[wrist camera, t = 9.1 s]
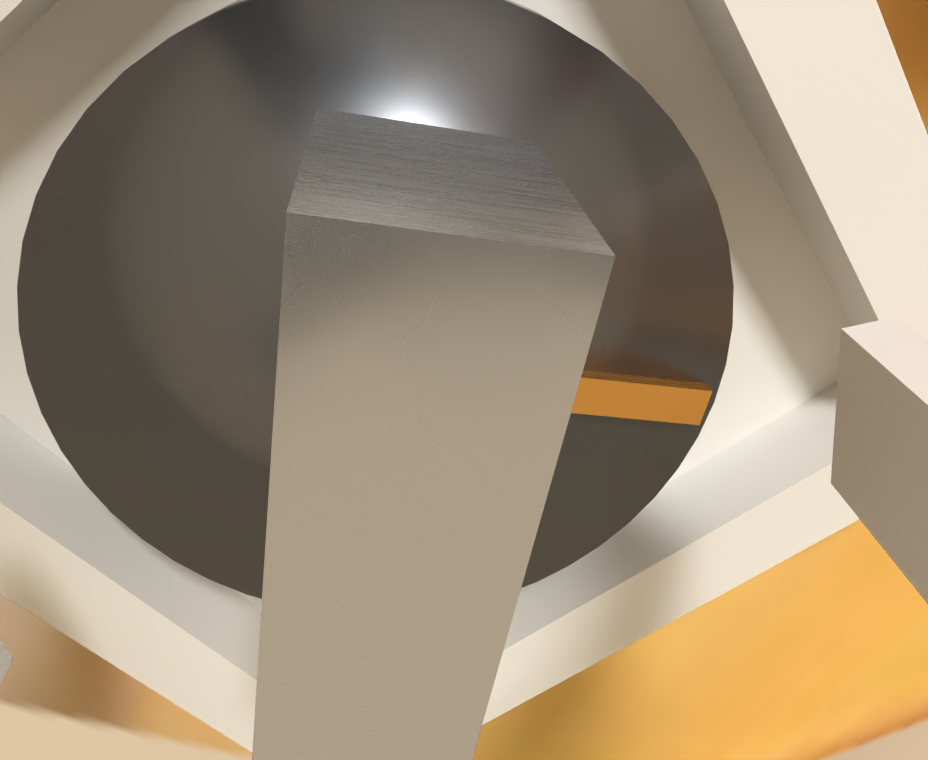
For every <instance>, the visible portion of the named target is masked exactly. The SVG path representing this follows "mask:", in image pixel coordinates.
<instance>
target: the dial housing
mask: <svg viewBox="0 0 928 760" xmlns="http://www.w3.org/2000/svg"><path fill="white" fill-rule="evenodd" d="M235 1H237V0H0V594H1V595H3V596H5V597H6V598H8V599H9V600H11V601H13V602H14V603H16V604H17V605H19V606H20V607H22V608H24V609H25V610H27V611H28V612H30V613H32V614H33V615H35V616H36V617H38V618H39V619H41V620H43V621H44V622H46V623H47V624H49V625H51V626H52V627H54V628H55V629H57V630H59V631H60V632H62V633H63V634H65V635H66V636H68V637H70V638H71V639H73V640H74V641H76V642H78V643H79V644H81V645H82V646H84V647H85V648H87V649H89V650H90V651H92V652H93V653H95V654H97V655H98V656H100V657H101V658H103V659H104V660H106V661H108V662H109V663H111V664H112V665H114V666H116V667H117V668H119V669H120V670H122V671H124V672H125V673H127V674H128V675H130V676H131V677H133V678H135V679H136V680H138V681H139V682H141V683H143V684H144V685H146V686H147V687H149V688H150V689H152V690H154V691H155V692H157V693H158V694H160V695H162V696H163V697H165V698H166V699H168V700H169V701H171V702H173V703H174V704H176V705H177V706H179V707H181V708H182V709H184V710H185V711H187V712H189V713H190V714H192V715H193V716H195V717H196V718H198V719H200V720H201V721H203V722H204V723H206V724H208V725H209V726H211V727H212V728H214V729H215V730H217V731H219V732H220V733H222V734H223V735H225V736H227V737H228V738H230V739H231V740H233V741H234V742H236V743H238V744H239V745H241V746H242V747H244V748H246V749H247V750H249V751H250V752H252V750H253V734H254V718H255V702H256V686H257V670H258V654H259V638H260V623H261V607H262V599H260V598H257V597H254V596H250V595H247V594H244V593H241V592H239V591H236V590H234V589H231V588H229V587H226V586H224V585H222V584H219V583H217V582H214V581H212V580H209V579H207V578H205V577H204V576H202V575H200V574H198V573H196V572H194V571H192V570H190V569H188V568H187V567H185V566H183V565H181V564H179V563H177V562H175V561H174V560H172V559H171V558H169V557H168V556H166V555H165V554H163V553H162V552H160V551H159V550H157V549H156V548H154V547H153V546H151V545H150V544H148V543H147V542H146V541H144V540H143V539H141V538H140V537H139V536H138V535H137V534H135V533H134V532H133V531H132V530H131V529H130V528H128V527H127V526H126V525H125V524H124V523H123V522H121V521H120V520H119V519H118V518H117V517H116V516H114V515H113V514H112V513H111V512H110V511H109V510H108V509H107V507H106V506H105V505H104V504H103V503H102V502H101V501H100V500H99V499H98V498H97V497H96V496H95V494H94V493H93V492H92V491H91V490H90V489H89V488H88V487H87V486H86V485H85V484H84V482H83V481H82V479H81V478H80V477H79V475H78V474H77V472H76V471H75V470H74V468H73V467H72V465H71V464H70V463H69V461H68V460H67V458H66V457H65V455H64V454H63V453H62V451H61V450H60V448H59V446H58V444H57V442H56V440H55V438H54V436H53V435H52V433H51V431H50V429H49V427H48V425H47V423H46V421H45V419H44V417H43V416H42V414H41V411H40V408H39V405H38V403H37V400H36V397H35V394H34V391H33V389H32V386H31V383H30V380H29V377H28V375H27V370H26V365H25V360H24V355H23V350H22V345H21V340H20V335H19V325H18V301H17V282H18V274H19V265H20V257H21V249H22V241H23V237H24V234H25V231H26V227H27V224H28V220H29V217H30V213H31V210H32V206H33V203H34V200H35V196H36V194H37V192H38V190H39V188H40V185H41V183H42V181H43V179H44V177H45V175H46V173H47V171H48V169H49V167H50V165H51V163H52V161H53V158H54V156H55V154H56V152H57V150H58V149H59V148H60V146H61V145H62V143H63V142H64V140H65V139H66V138H67V136H68V135H69V133H70V132H71V131H72V129H73V128H74V126H75V125H76V123H77V122H78V121H79V119H80V118H81V116H82V115H83V113H84V112H85V111H86V109H87V108H88V107H89V106H90V105H91V104H92V103H93V102H94V101H95V100H96V99H97V98H98V97H99V96H100V95H101V94H102V93H103V92H104V91H105V90H106V89H107V88H108V87H109V86H110V85H111V84H112V83H113V82H114V81H115V80H116V78H117V77H118V76H119V75H120V74H121V73H122V72H123V71H124V70H126V69H127V68H129V67H130V66H131V65H133V64H134V63H135V62H137V61H138V60H139V59H141V58H142V57H143V56H145V55H146V54H147V53H149V52H150V51H152V50H153V49H154V48H156V47H157V46H158V45H160V44H161V43H162V42H164V41H165V40H166V39H168V38H169V37H171V36H173V35H174V34H176V33H178V32H179V31H181V30H183V29H184V28H186V27H188V26H189V25H191V24H193V23H195V22H197V21H198V20H200V19H202V18H204V17H206V16H208V15H210V14H212V13H214V12H216V11H218V10H220V9H221V8H223V7H225V6H227V5H229V4H231V3H233V2H235ZM511 1H513V2H515V3H518V4H520V5H522V6H525V7H527V8H529V9H532V10H534V11H536V12H538V13H539V14H541V15H543V16H544V17H546V18H548V19H549V20H551V21H553V22H554V23H556V24H558V25H559V26H561V27H562V28H564V29H566V30H567V31H569V32H571V33H572V34H574V35H576V36H577V37H579V38H580V39H582V40H584V41H585V42H587V43H589V44H590V45H592V46H593V47H595V48H597V49H598V50H600V51H602V52H603V53H604V54H605V55H606V56H608V57H609V58H610V59H611V60H612V61H613V62H615V63H616V64H617V65H618V66H619V67H621V68H622V69H623V70H624V71H625V72H627V73H628V74H629V75H630V76H631V77H632V78H634V79H635V80H636V81H637V82H638V83H640V84H641V85H642V86H643V88H644V89H645V90H646V91H647V92H648V93H649V94H650V95H651V97H652V98H653V99H654V100H655V101H656V102H657V103H658V105H659V106H660V107H661V108H662V109H663V110H664V111H665V113H666V114H667V115H668V116H669V117H670V118H671V119H672V121H673V122H674V123H675V125H676V126H677V128H678V129H679V131H680V133H681V134H682V136H683V137H684V139H685V140H686V142H687V143H688V145H689V147H690V148H691V150H692V151H693V153H694V154H695V156H696V158H697V159H698V161H699V163H700V165H701V167H702V169H703V172H704V174H705V176H706V178H707V181H708V183H709V185H710V187H711V190H712V192H713V194H714V196H715V199H716V201H717V203H718V207H719V211H720V214H721V218H722V222H723V225H724V229H725V233H726V236H727V240H728V244H729V251H730V259H731V268H732V276H733V284H734V292H733V327H732V332H731V338H730V344H729V350H728V356H727V362H726V367H725V370H724V373H723V376H722V379H721V382H720V386H719V389H718V392H717V395H716V398H715V402H714V404H713V406H712V408H711V410H710V412H709V415H708V417H707V419H706V421H705V423H704V425H703V428H702V430H701V432H700V434H699V436H698V438H697V439H696V441H695V443H694V444H693V446H692V447H691V449H690V451H689V452H688V454H687V455H686V457H685V459H684V460H683V462H682V463H681V465H680V467H679V468H678V469H677V471H676V472H675V473H674V474H673V476H672V477H671V478H670V479H669V481H668V482H667V483H666V484H665V486H664V487H663V488H662V489H661V491H660V492H659V493H658V494H657V495H656V497H655V498H654V499H653V500H652V501H651V502H650V503H649V504H648V505H647V506H646V507H645V508H644V509H643V510H642V511H641V512H640V513H639V514H638V515H637V516H636V517H635V518H634V519H633V520H632V521H631V522H630V523H628V524H627V525H626V526H625V527H623V528H622V529H621V530H620V531H618V532H617V533H616V534H615V535H613V536H612V537H611V538H609V539H608V540H607V541H606V542H604V543H603V544H602V545H601V546H599V547H598V548H596V549H594V550H593V551H591V552H590V553H588V554H587V555H585V556H584V557H582V558H580V559H579V560H577V561H576V562H574V563H573V564H571V565H569V566H567V567H565V568H563V569H562V570H560V571H558V572H556V573H554V574H552V575H550V576H548V577H546V578H544V579H542V580H540V581H538V582H536V583H533V584H530V585H528V586H525V587H523V588H521V590H520V594H519V597H518V601H517V604H516V608H515V611H514V615H513V618H512V622H511V625H510V629H509V632H508V636H507V639H506V643H505V646H504V650H503V653H502V657H501V660H500V664H499V667H498V671H497V674H496V678H495V681H494V685H493V688H492V692H491V696H490V699H489V703H488V706H487V710H486V713H485V717H484V720H483V724H482V725H484V724H485V723H487V722H489V721H491V720H493V719H494V718H496V717H498V716H500V715H502V714H504V713H505V712H507V711H509V710H511V709H513V708H515V707H516V706H518V705H520V704H522V703H524V702H526V701H527V700H529V699H531V698H533V697H535V696H537V695H538V694H540V693H542V692H544V691H546V690H548V689H549V688H551V687H553V686H555V685H557V684H559V683H560V682H562V681H564V680H566V679H568V678H570V677H571V676H573V675H575V674H577V673H579V672H581V671H582V670H584V669H586V668H588V667H590V666H591V665H593V664H595V663H597V662H599V661H601V660H602V659H604V658H606V657H608V656H610V655H612V654H613V653H615V652H617V651H619V650H621V649H623V648H624V647H626V646H628V645H630V644H632V643H634V642H635V641H637V640H639V639H641V638H643V637H645V636H646V635H648V634H650V633H652V632H654V631H656V630H657V629H659V628H661V627H663V626H665V625H667V624H668V623H670V622H672V621H674V620H676V619H678V618H679V617H681V616H683V615H685V614H687V613H688V612H690V611H692V610H694V609H696V608H698V607H699V606H701V605H703V604H705V603H707V602H709V601H710V600H712V599H714V598H716V597H718V596H720V595H721V594H723V593H725V592H727V591H729V590H731V589H732V588H734V587H736V586H738V585H740V584H742V583H743V582H745V581H747V580H749V579H751V578H753V577H754V576H756V575H758V574H760V573H762V572H764V571H765V570H767V569H769V568H771V567H773V566H774V565H776V564H778V563H780V562H782V561H784V560H785V559H787V558H789V557H791V556H793V555H795V554H796V553H798V552H800V551H802V550H804V549H806V548H807V547H809V546H811V545H813V544H815V543H817V542H818V541H820V540H822V539H824V538H826V537H828V536H829V535H831V534H833V533H835V532H837V531H839V530H840V529H842V528H844V527H846V526H848V525H850V524H851V523H853V522H855V521H857V520H859V518H858V516H857V515H856V514H855V513H854V511H853V510H852V509H851V508H850V506H849V505H848V504H847V503H846V501H845V500H844V499H843V498H842V496H841V495H840V494H839V493H838V492H837V490H836V489H835V488H834V487H833V485H832V484H831V471H832V456H833V442H834V427H835V413H836V398H837V384H838V369H839V355H840V340H841V328H846V327H851V326H855V325H860V324H864V323H869V322H874V321H878V320H883V319H888V318H892V317H898V318H899V319H900V320H902V321H903V322H904V323H905V324H907V325H908V326H909V327H911V328H912V329H913V330H915V331H916V332H917V333H918V334H920V335H921V336H922V337H924V338H925V339H926V340H928V134H927V132H926V129H925V127H924V124H923V121H922V119H921V116H920V113H919V111H918V108H917V106H916V103H915V100H914V98H913V95H912V93H911V90H910V87H909V85H908V82H907V80H906V77H905V74H904V72H903V69H902V66H901V64H900V61H899V59H898V56H897V53H896V51H895V48H894V46H893V43H892V40H891V38H890V35H889V33H888V30H887V27H886V25H885V22H884V19H883V17H882V14H881V12H880V9H879V6H878V4H877V1H876V0H511Z"/></svg>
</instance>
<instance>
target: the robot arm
mask: <svg viewBox="0 0 928 760" xmlns="http://www.w3.org/2000/svg"><path fill="white" fill-rule="evenodd" d="M831 484H832V485H833V487H834V488H835V489H836V490H837V492H838V493H839V494H840V495H841V496H842V498H843V499H844V500H845V501H846V503H847V504H848V505H849V506H850V508H851V509H852V510H853V511H854V513H855V514H856V515H857V516H858V518H859V519H860V520H861V521H862V523H863V524H864V525H865V526H866V528H867V529H868V530H869V531H870V533H871V534H872V535H873V536H874V538H875V539H876V540H877V541H878V543H879V544H880V545H881V546H882V548H883V549H884V550H885V551H886V553H887V554H888V555H889V556H890V557H891V559H892V560H893V561H894V562H895V564H896V565H897V566H898V567H899V569H900V570H901V571H902V572H903V574H904V575H905V576H906V577H907V579H908V580H909V581H910V582H911V584H912V585H913V586H914V587H915V589H916V590H917V591H918V592H919V594H920V595H921V596H922V597H923V599H924V600H925V601H926V602H927V604H928V340H926V339H925V338H924V337H922V336H921V335H920V334H918V333H917V332H916V331H915V330H913V329H912V328H911V327H909V326H908V325H907V324H905V323H904V322H903V321H902V320H900V319H899V318H898V317H892V318H888V319H883V320H878V321H874V322H869V323H864V324H860V325H855V326H851V327H846V328H841V340H840V355H839V369H838V384H837V398H836V413H835V427H834V442H833V456H832V471H831ZM12 659H13V657H12V655H11V654H10V653H9V651H8V650H7V649H6V647H5V646H4V645H3V643H2V642H1V641H0V684H1V682H2V680H3V678H4V675H5V673H6V671H7V669H8V667H9V665H10V663H11V661H12Z"/></svg>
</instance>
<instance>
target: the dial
mask: <svg viewBox="0 0 928 760" xmlns="http://www.w3.org/2000/svg"><path fill="white" fill-rule="evenodd" d="M733 292H734V284H733V276H732V268H731V259H730V251H729V244H728V240H727V236H726V233H725V229H724V225H723V222H722V218H721V214H720V211H719V207H718V203H717V201H716V199H715V196H714V194H713V192H712V190H711V187H710V185H709V183H708V181H707V178H706V176H705V174H704V172H703V169H702V167H701V165H700V163H699V161H698V159H697V158H696V156H695V154H694V153H693V151H692V150H691V148H690V147H689V145H688V143H687V142H686V140H685V139H684V137H683V136H682V134H681V133H680V131H679V129H678V128H677V126H676V125H675V123H674V122H673V121H672V119H671V118H670V117H669V116H668V115H667V114H666V113H665V111H664V110H663V109H662V108H661V107H660V106H659V105H658V103H657V102H656V101H655V100H654V99H653V98H652V97H651V95H650V94H649V93H648V92H647V91H646V90H645V89H644V88H643V86H642V85H641V84H640V83H638V82H637V81H636V80H635V79H634V78H632V77H631V76H630V75H629V74H628V73H627V72H625V71H624V70H623V69H622V68H621V67H619V66H618V65H617V64H616V63H615V62H613V61H612V60H611V59H610V58H609V57H608V56H606V55H605V54H604V53H603V52H602V51H600V50H598V49H597V48H595V47H593V46H592V45H590V44H589V43H587V42H585V41H584V40H582V39H580V38H579V37H577V36H576V35H574V34H572V33H571V32H569V31H567V30H566V29H564V28H562V27H561V26H559V25H558V24H556V23H554V22H553V21H551V20H549V19H548V18H546V17H544V16H543V15H541V14H539V13H538V12H536V11H534V10H532V9H529V8H527V7H525V6H522V5H520V4H518V3H515V2H513V1H511V0H237V1H235V2H233V3H231V4H229V5H227V6H225V7H223V8H221V9H220V10H218V11H216V12H214V13H212V14H210V15H208V16H206V17H204V18H202V19H200V20H198V21H197V22H195V23H193V24H191V25H189V26H188V27H186V28H184V29H183V30H181V31H179V32H178V33H176V34H174V35H173V36H171V37H169V38H168V39H166V40H165V41H164V42H162V43H161V44H160V45H158V46H157V47H156V48H154V49H153V50H152V51H150V52H149V53H147V54H146V55H145V56H143V57H142V58H141V59H139V60H138V61H137V62H135V63H134V64H133V65H131V66H130V67H129V68H127V69H126V70H124V71H123V72H122V73H121V74H120V75H119V76H118V77H117V78H116V80H115V81H114V82H113V83H112V84H111V85H110V86H109V87H108V88H107V89H106V90H105V91H104V92H103V93H102V94H101V95H100V96H99V97H98V98H97V99H96V100H95V101H94V102H93V103H92V104H91V105H90V106H89V107H88V108H87V109H86V111H85V112H84V113H83V115H82V116H81V118H80V119H79V121H78V122H77V123H76V125H75V126H74V128H73V129H72V131H71V132H70V133H69V135H68V136H67V138H66V139H65V140H64V142H63V143H62V145H61V146H60V148H59V149H58V150H57V152H56V154H55V156H54V158H53V161H52V163H51V165H50V167H49V169H48V171H47V173H46V175H45V177H44V179H43V181H42V183H41V185H40V188H39V190H38V192H37V194H36V196H35V200H34V203H33V206H32V210H31V213H30V217H29V220H28V224H27V227H26V231H25V234H24V237H23V241H22V249H21V257H20V265H19V274H18V282H17V301H18V325H19V335H20V340H21V345H22V350H23V355H24V360H25V365H26V370H27V375H28V377H29V380H30V383H31V386H32V389H33V391H34V394H35V397H36V400H37V403H38V405H39V408H40V411H41V414H42V416H43V417H44V419H45V421H46V423H47V425H48V427H49V429H50V431H51V433H52V435H53V436H54V438H55V440H56V442H57V444H58V446H59V448H60V450H61V451H62V453H63V454H64V455H65V457H66V458H67V460H68V461H69V463H70V464H71V465H72V467H73V468H74V470H75V471H76V472H77V474H78V475H79V477H80V478H81V479H82V481H83V482H84V484H85V485H86V486H87V487H88V488H89V489H90V490H91V491H92V492H93V493H94V494H95V496H96V497H97V498H98V499H99V500H100V501H101V502H102V503H103V504H104V505H105V506H106V507H107V509H108V510H109V511H110V512H111V513H112V514H113V515H114V516H116V517H117V518H118V519H119V520H120V521H121V522H123V523H124V524H125V525H126V526H127V527H128V528H130V529H131V530H132V531H133V532H134V533H135V534H137V535H138V536H139V537H140V538H141V539H143V540H144V541H146V542H147V543H148V544H150V545H151V546H153V547H154V548H156V549H157V550H159V551H160V552H162V553H163V554H165V555H166V556H168V557H169V558H171V559H172V560H174V561H175V562H177V563H179V564H181V565H183V566H185V567H187V568H188V569H190V570H192V571H194V572H196V573H198V574H200V575H202V576H204V577H205V578H207V579H209V580H212V581H214V582H217V583H219V584H222V585H224V586H226V587H229V588H231V589H234V590H236V591H239V592H241V593H244V594H247V595H250V596H254V597H257V598H260V599H262V607H261V623H260V638H259V654H258V670H257V686H256V702H255V718H254V734H253V750H252V760H472V759H473V755H474V752H475V748H476V745H477V741H478V738H479V734H480V731H481V727H482V724H483V720H484V717H485V713H486V710H487V706H488V703H489V699H490V696H491V692H492V688H493V685H494V681H495V678H496V674H497V671H498V667H499V664H500V660H501V657H502V653H503V650H504V646H505V643H506V639H507V636H508V632H509V629H510V625H511V622H512V618H513V615H514V611H515V608H516V604H517V601H518V597H519V594H520V590H521V588H523V587H525V586H528V585H530V584H533V583H536V582H538V581H540V580H542V579H544V578H546V577H548V576H550V575H552V574H554V573H556V572H558V571H560V570H562V569H563V568H565V567H567V566H569V565H571V564H573V563H574V562H576V561H577V560H579V559H580V558H582V557H584V556H585V555H587V554H588V553H590V552H591V551H593V550H594V549H596V548H598V547H599V546H601V545H602V544H603V543H604V542H606V541H607V540H608V539H609V538H611V537H612V536H613V535H615V534H616V533H617V532H618V531H620V530H621V529H622V528H623V527H625V526H626V525H627V524H628V523H630V522H631V521H632V520H633V519H634V518H635V517H636V516H637V515H638V514H639V513H640V512H641V511H642V510H643V509H644V508H645V507H646V506H647V505H648V504H649V503H650V502H651V501H652V500H653V499H654V498H655V497H656V495H657V494H658V493H659V492H660V491H661V489H662V488H663V487H664V486H665V484H666V483H667V482H668V481H669V479H670V478H671V477H672V476H673V474H674V473H675V472H676V471H677V469H678V468H679V467H680V465H681V463H682V462H683V460H684V459H685V457H686V455H687V454H688V452H689V451H690V449H691V447H692V446H693V444H694V443H695V441H696V439H697V438H698V436H699V434H700V432H701V430H702V428H703V425H704V423H705V421H706V419H707V417H708V415H709V412H710V410H711V408H712V406H713V404H714V402H715V398H716V395H717V392H718V389H719V386H720V382H721V379H722V376H723V373H724V370H725V367H726V362H727V356H728V350H729V344H730V338H731V332H732V327H733Z"/></svg>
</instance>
